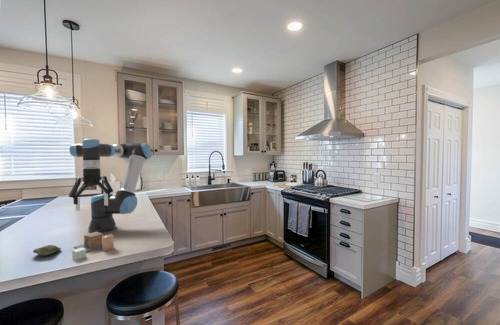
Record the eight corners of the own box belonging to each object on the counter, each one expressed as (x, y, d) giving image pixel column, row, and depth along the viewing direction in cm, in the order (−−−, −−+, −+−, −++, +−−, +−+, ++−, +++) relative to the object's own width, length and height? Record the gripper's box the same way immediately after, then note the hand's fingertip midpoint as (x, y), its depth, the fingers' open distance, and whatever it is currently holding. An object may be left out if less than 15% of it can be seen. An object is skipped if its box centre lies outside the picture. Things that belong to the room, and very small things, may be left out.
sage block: (72, 258, 105) (72, 250, 105) (82, 255, 109) (81, 247, 109) (76, 260, 103) (76, 252, 103) (86, 257, 107) (85, 249, 107)
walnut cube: (84, 246, 118) (84, 235, 118) (96, 242, 123) (96, 231, 123) (90, 248, 115) (89, 237, 115) (102, 244, 120) (102, 233, 120)
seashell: (54, 244, 117) (60, 234, 113) (60, 256, 115) (66, 247, 111) (28, 253, 108) (34, 243, 104) (34, 266, 106) (40, 256, 102)
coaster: (74, 248, 117) (74, 246, 117) (98, 240, 127) (98, 239, 127) (85, 253, 111) (85, 251, 111) (110, 244, 122) (110, 243, 122)
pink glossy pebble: (100, 250, 115) (99, 236, 114) (110, 246, 119) (110, 233, 119) (105, 252, 112) (105, 238, 112) (115, 248, 116) (115, 235, 116)
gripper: (66, 169, 106) (67, 213, 107) (119, 167, 127) (120, 204, 128) (59, 169, 110) (60, 211, 110) (112, 166, 131) (112, 202, 132)
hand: (92, 207), depth 119 cm, fingers open, 13 cm apart
